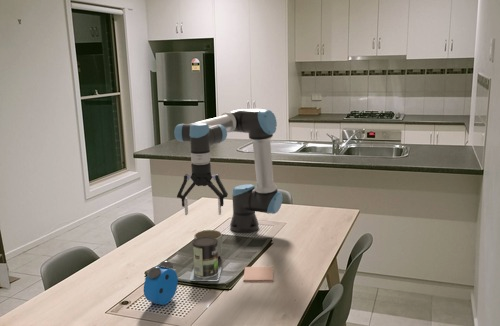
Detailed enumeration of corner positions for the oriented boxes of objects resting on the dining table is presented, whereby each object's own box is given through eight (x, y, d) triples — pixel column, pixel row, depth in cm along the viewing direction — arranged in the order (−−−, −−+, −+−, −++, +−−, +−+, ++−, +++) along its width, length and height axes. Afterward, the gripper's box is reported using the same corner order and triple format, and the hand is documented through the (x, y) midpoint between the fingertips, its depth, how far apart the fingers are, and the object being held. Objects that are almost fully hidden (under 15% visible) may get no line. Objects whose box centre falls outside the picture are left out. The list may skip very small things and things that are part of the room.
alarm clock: (166, 292, 180) (164, 256, 176) (179, 295, 177) (177, 259, 174) (144, 308, 168) (141, 269, 165) (157, 312, 165) (155, 273, 162)
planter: (226, 253, 215) (226, 231, 213) (216, 264, 203) (215, 241, 201) (202, 250, 219) (201, 228, 217) (190, 261, 207) (189, 238, 205)
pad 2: (245, 268, 199) (245, 266, 198) (273, 268, 198) (273, 266, 198) (243, 281, 187) (243, 279, 187) (273, 281, 186) (273, 279, 186)
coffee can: (221, 268, 197) (220, 237, 194) (214, 279, 187) (213, 246, 184) (198, 266, 199) (196, 235, 196) (190, 277, 189) (188, 245, 186)
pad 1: (194, 268, 200) (193, 266, 199) (221, 268, 199) (221, 266, 199) (189, 281, 188) (189, 279, 188) (218, 281, 187) (218, 279, 187)
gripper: (167, 165, 180) (170, 217, 185) (231, 164, 179) (233, 216, 184) (171, 161, 188) (174, 211, 192) (233, 160, 186) (234, 210, 191)
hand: (203, 214), depth 188 cm, fingers open, 13 cm apart
